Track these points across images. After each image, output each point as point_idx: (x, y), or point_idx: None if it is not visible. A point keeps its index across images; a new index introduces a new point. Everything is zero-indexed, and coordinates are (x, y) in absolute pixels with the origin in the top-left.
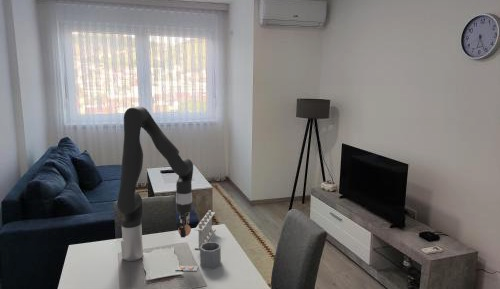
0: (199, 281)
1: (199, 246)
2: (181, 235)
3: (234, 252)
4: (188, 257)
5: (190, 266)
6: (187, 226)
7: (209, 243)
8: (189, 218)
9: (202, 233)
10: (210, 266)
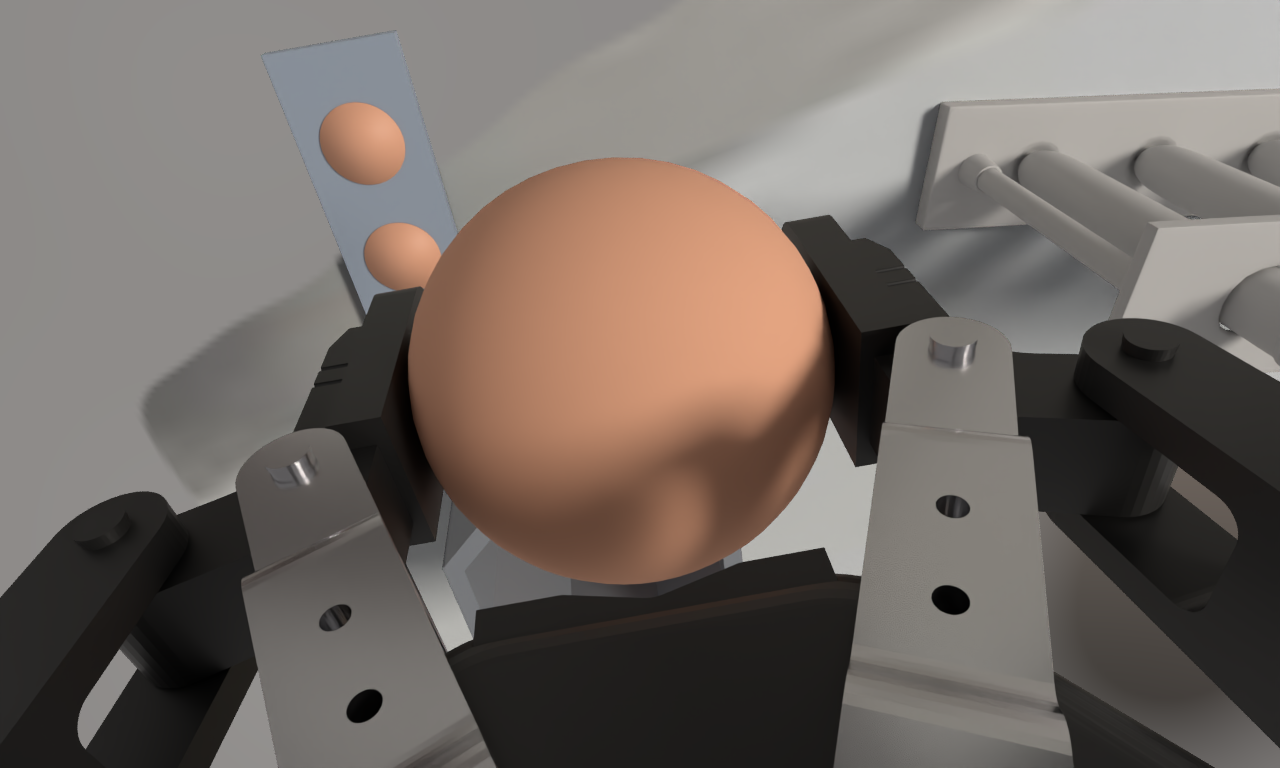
0: (205, 427)
1: (967, 179)
2: (328, 367)
3: (852, 539)
4: (686, 102)
5: (438, 236)
6: (588, 580)
7: None
8: (1150, 535)
9: (1234, 210)
10: None
